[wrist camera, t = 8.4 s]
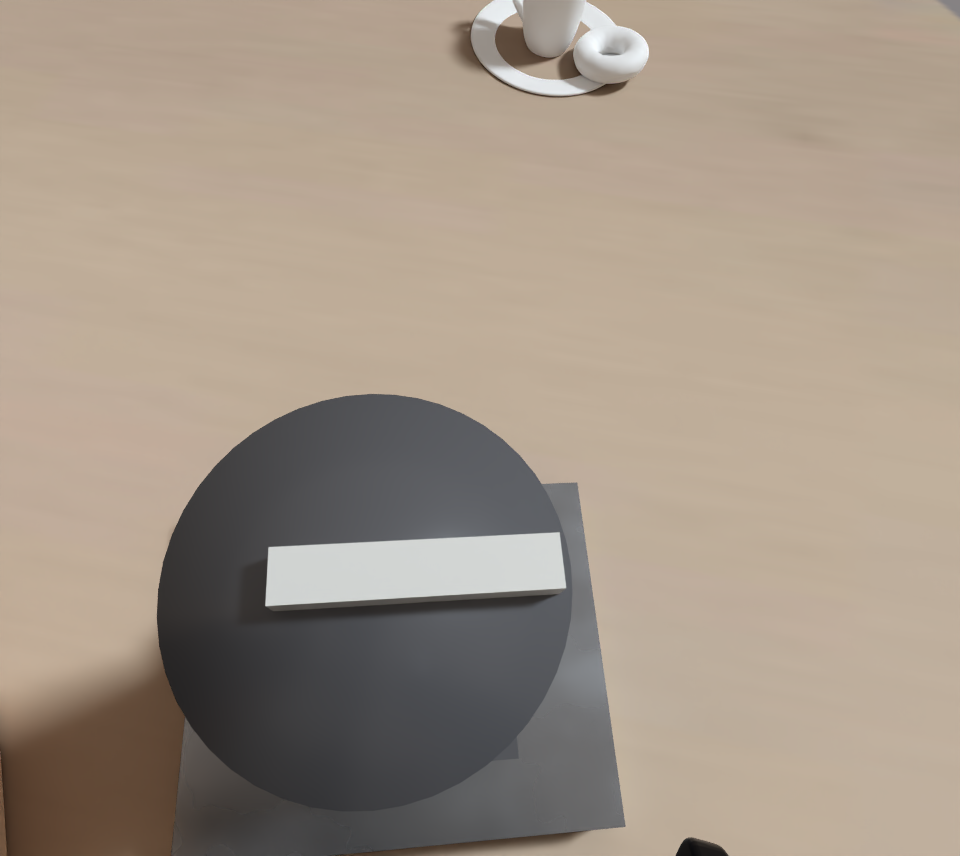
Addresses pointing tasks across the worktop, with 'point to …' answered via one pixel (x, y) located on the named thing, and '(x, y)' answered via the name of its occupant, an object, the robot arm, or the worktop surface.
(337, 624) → the knob
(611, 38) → the teacup and saucer
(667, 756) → the worktop surface
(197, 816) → the plate
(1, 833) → the soap dispenser
